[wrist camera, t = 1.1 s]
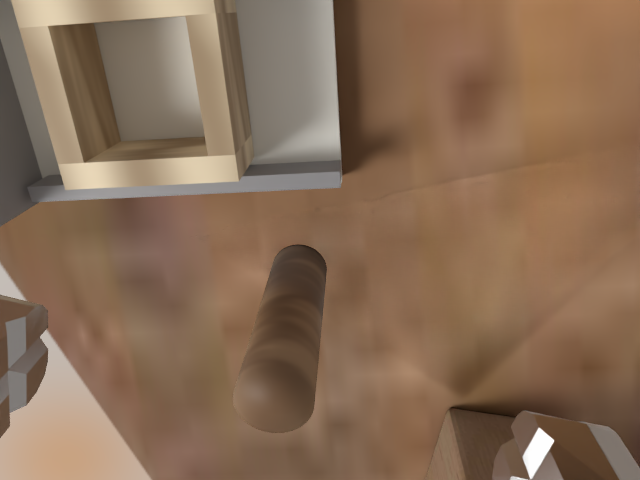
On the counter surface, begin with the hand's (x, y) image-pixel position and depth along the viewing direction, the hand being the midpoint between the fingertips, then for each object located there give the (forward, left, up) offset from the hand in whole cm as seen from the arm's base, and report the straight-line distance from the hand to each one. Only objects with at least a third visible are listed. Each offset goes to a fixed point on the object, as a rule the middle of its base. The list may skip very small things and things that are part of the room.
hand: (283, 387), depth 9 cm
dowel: (+3, +12, -27) cm, 29 cm away
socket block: (+10, -2, -25) cm, 27 cm away
